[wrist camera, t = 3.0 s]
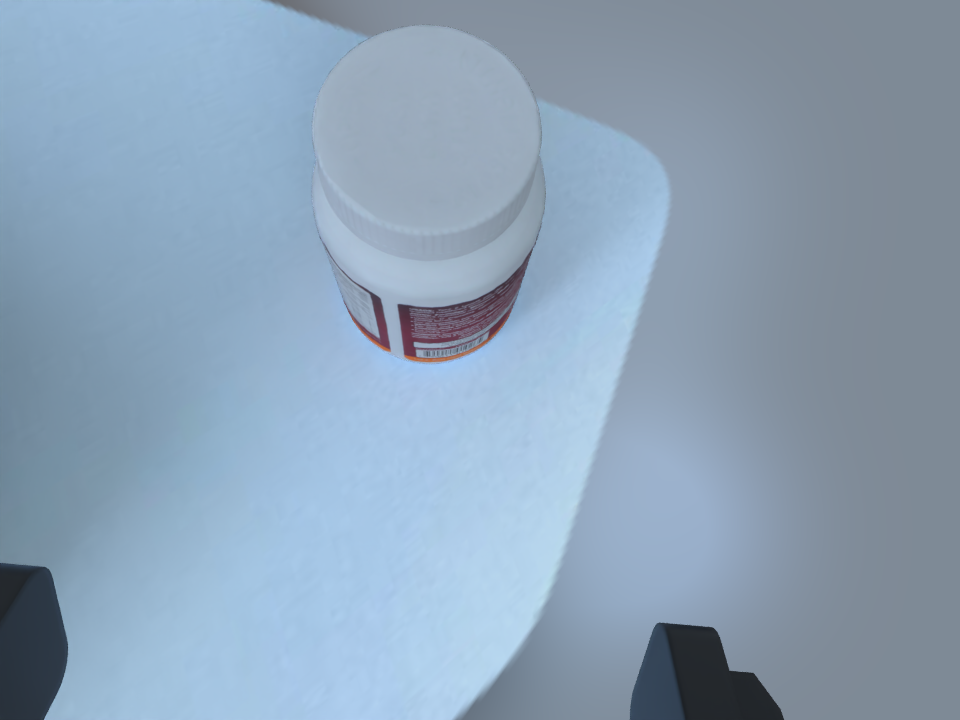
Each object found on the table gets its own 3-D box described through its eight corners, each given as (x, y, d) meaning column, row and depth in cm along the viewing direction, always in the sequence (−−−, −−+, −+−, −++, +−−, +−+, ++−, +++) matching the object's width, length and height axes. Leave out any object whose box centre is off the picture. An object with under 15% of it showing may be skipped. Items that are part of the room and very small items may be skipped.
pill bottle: (542, 243, 30) (610, 65, 19) (473, 396, 28) (503, 301, 17) (386, 175, 30) (363, -40, 19) (311, 324, 29) (238, 185, 18)
